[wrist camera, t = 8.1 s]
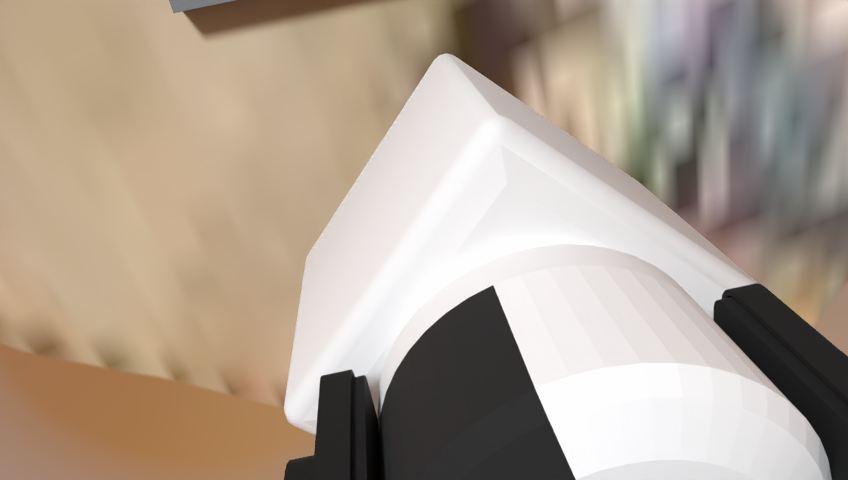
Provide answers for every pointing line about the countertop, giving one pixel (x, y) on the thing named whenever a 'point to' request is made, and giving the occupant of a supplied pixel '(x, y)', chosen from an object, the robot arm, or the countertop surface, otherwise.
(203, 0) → the serving board
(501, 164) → the medicine bottle
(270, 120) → the countertop surface
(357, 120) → the countertop surface
